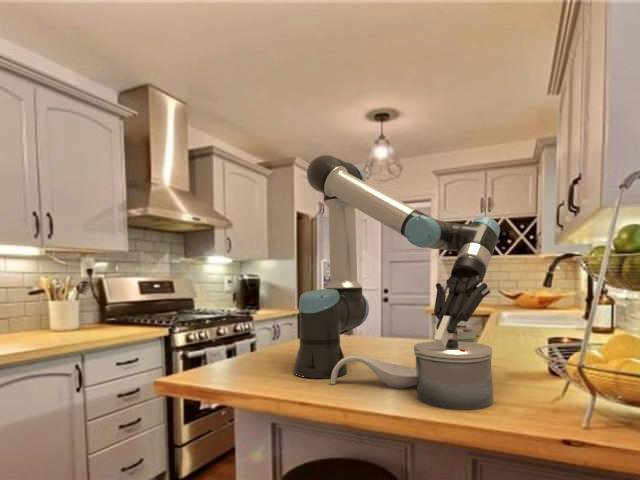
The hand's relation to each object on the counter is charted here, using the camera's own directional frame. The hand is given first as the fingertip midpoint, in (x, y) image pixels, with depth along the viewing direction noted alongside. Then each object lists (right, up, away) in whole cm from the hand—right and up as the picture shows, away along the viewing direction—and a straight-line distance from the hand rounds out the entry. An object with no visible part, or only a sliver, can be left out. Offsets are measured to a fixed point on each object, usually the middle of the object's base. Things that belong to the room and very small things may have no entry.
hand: (439, 343), depth 88 cm
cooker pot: (+4, -13, +3) cm, 14 cm away
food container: (+20, -16, +39) cm, 46 cm away
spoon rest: (-11, -15, +16) cm, 24 cm away
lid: (+4, -3, +4) cm, 6 cm away
